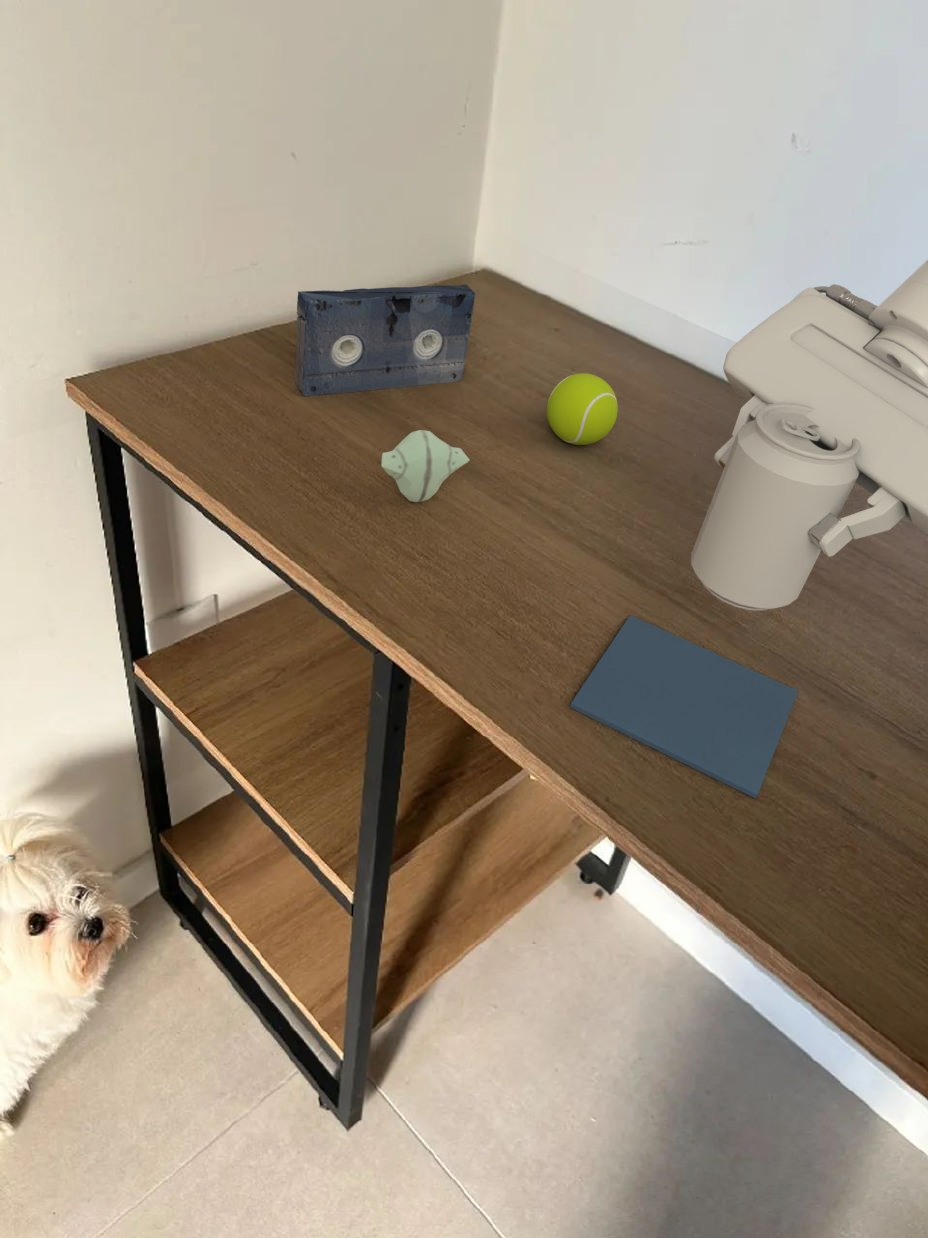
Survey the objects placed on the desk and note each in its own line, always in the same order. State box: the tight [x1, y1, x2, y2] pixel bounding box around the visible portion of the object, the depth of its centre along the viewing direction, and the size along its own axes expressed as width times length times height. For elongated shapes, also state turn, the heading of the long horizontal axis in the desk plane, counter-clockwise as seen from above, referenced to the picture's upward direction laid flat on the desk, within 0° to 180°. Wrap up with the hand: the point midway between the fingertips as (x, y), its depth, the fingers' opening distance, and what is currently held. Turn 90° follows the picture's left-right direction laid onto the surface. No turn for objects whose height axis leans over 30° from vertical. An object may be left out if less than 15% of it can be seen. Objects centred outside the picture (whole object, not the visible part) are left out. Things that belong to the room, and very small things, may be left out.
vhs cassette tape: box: [294, 284, 476, 397], centre depth 95 cm, size 18×3×10 cm, turn 115°
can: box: [690, 403, 861, 612], centre depth 59 cm, size 8×8×12 cm
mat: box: [569, 614, 799, 799], centre depth 69 cm, size 14×12×1 cm
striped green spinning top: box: [380, 429, 471, 503], centre depth 81 cm, size 8×4×7 cm, turn 110°
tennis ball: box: [546, 372, 619, 446], centre depth 93 cm, size 7×7×7 cm
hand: (768, 505), depth 58 cm, fingers closed on can, 7 cm apart
